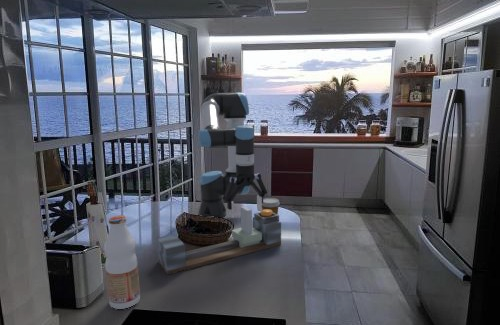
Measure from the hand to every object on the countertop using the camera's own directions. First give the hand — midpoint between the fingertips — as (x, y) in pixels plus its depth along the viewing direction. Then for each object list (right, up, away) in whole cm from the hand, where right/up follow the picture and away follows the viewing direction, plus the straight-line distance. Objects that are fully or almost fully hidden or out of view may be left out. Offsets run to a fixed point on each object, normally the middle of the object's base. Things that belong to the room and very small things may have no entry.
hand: (245, 213), depth 152 cm
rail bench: (-9, -16, -3) cm, 19 cm away
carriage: (0, -13, +2) cm, 13 cm away
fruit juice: (-38, -23, -37) cm, 58 cm away
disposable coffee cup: (+12, -9, +29) cm, 33 cm away
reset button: (+9, -2, +5) cm, 10 cm away
